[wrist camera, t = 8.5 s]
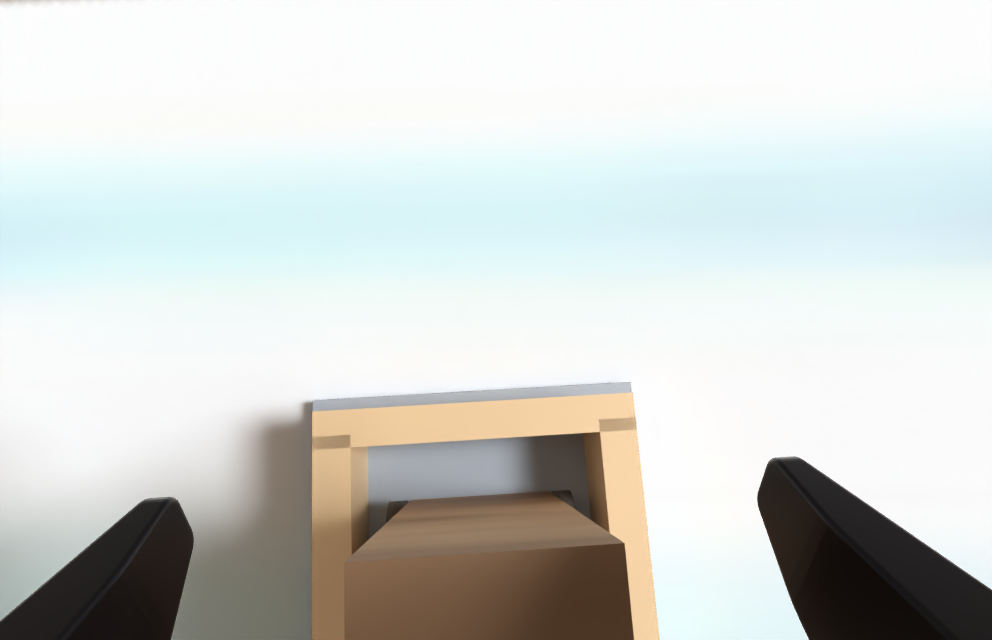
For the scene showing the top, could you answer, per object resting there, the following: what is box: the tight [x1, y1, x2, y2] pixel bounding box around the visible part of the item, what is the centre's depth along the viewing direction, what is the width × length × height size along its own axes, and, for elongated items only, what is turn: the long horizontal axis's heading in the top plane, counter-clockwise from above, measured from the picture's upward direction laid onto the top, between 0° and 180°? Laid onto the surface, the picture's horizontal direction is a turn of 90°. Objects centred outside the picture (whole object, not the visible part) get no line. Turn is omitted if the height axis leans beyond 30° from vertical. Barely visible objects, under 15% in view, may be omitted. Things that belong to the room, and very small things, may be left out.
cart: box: [344, 490, 634, 640], centre depth 15 cm, size 5×6×11 cm
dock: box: [312, 382, 659, 640], centre depth 20 cm, size 11×12×4 cm
